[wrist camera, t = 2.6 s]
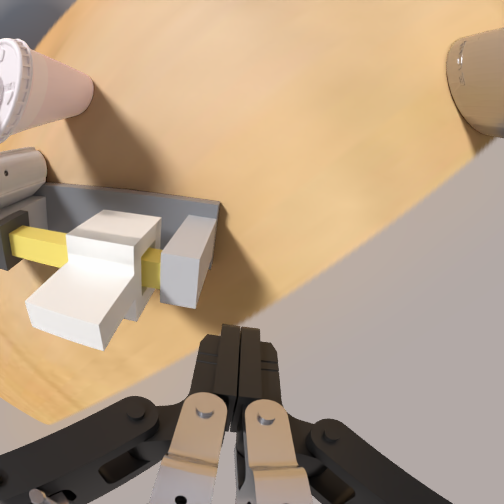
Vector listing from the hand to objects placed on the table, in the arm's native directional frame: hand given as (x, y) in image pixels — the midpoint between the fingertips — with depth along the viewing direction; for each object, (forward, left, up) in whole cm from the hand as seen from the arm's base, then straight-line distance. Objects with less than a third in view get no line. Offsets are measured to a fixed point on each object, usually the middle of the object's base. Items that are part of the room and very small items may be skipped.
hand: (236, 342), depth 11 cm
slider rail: (+11, 0, -11) cm, 16 cm away
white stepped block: (+7, 0, -7) cm, 10 cm away
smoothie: (+15, -10, -11) cm, 22 cm away
